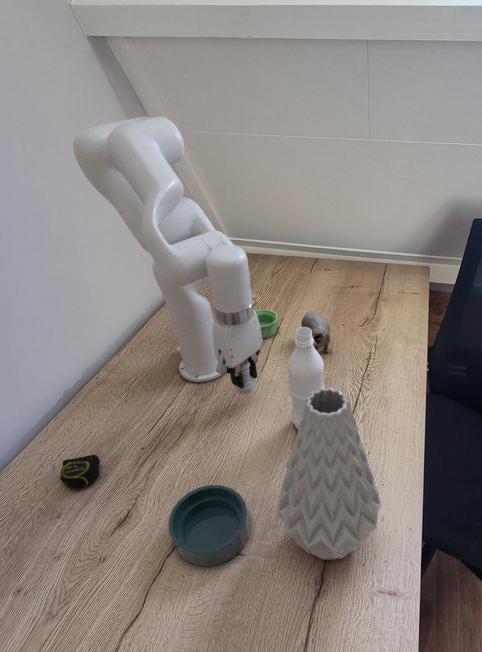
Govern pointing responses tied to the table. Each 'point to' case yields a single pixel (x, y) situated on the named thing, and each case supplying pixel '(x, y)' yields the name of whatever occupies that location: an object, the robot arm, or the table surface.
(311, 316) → the rhinoceros figurine
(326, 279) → the table surface
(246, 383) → the rook chess piece
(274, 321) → the ramekin
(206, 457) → the table surface
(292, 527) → the vase
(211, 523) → the bowl
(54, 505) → the table surface
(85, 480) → the tape measure
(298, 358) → the water bottle
